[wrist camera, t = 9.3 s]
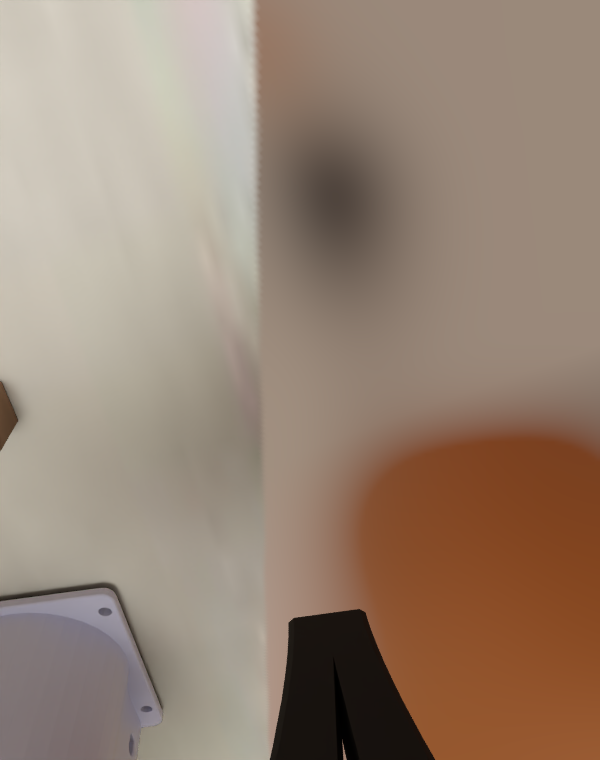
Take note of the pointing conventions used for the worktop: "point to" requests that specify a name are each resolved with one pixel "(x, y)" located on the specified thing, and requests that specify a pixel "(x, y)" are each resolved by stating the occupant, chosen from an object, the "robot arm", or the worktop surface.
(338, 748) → the robot arm
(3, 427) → the guide channel
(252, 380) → the worktop surface
